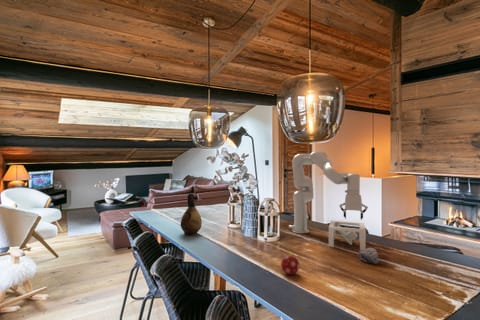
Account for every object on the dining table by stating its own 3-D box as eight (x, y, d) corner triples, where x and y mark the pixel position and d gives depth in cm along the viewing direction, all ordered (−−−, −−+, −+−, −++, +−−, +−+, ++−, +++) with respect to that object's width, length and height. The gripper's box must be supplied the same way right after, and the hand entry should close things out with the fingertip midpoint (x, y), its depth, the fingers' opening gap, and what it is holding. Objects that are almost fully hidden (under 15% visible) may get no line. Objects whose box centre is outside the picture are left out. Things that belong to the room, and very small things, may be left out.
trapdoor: (334, 227, 179) (335, 225, 179) (335, 222, 192) (336, 221, 192) (350, 245, 175) (352, 244, 175) (350, 239, 188) (352, 238, 188)
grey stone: (345, 235, 181) (351, 230, 179) (345, 233, 185) (351, 228, 184) (351, 241, 179) (357, 236, 178) (351, 239, 184) (357, 234, 183)
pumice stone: (361, 268, 148) (381, 265, 145) (357, 253, 149) (377, 250, 145) (360, 260, 158) (379, 258, 154) (356, 247, 158) (374, 244, 155)
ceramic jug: (205, 234, 203) (205, 194, 203) (185, 238, 194) (185, 195, 194) (195, 229, 217) (195, 191, 217) (176, 232, 208) (176, 192, 208)
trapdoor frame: (328, 246, 177) (328, 227, 177) (330, 237, 196) (331, 220, 196) (365, 250, 169) (365, 230, 169) (364, 241, 188) (364, 223, 188)
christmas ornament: (286, 268, 141) (286, 249, 141) (302, 273, 135) (302, 252, 135) (277, 274, 134) (278, 253, 134) (293, 279, 128) (293, 257, 128)
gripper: (339, 192, 181) (338, 218, 181) (368, 193, 175) (368, 221, 175) (339, 191, 188) (339, 216, 188) (367, 192, 181) (367, 218, 182)
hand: (353, 218), depth 181 cm, fingers open, 9 cm apart
